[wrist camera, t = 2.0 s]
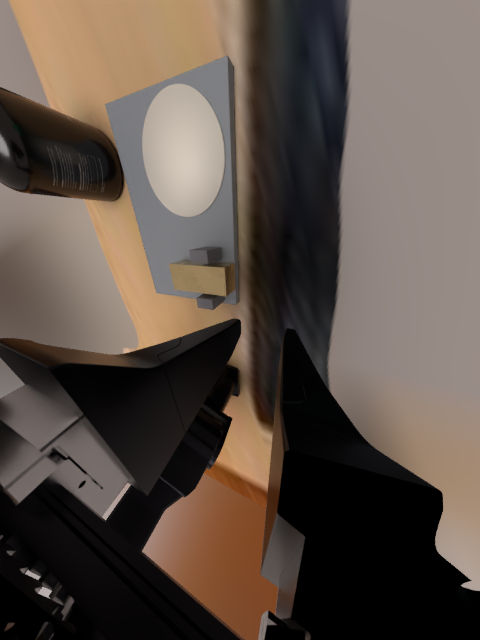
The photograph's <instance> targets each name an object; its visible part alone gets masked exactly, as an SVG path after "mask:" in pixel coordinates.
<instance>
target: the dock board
mask: <svg viewBox="0 0 480 640" xmlns="http://www.w3.org/2000/svg"><path fill="white" fill-rule="evenodd" d="M105 106H106V109H107V113H108V117H109V120H110V124H111V128H112V131H113V135H114V139H115V142H116V146H117V150H118V153H119V157H120V161H121V164H122V168H123V172H124V175H125V179H126V183H127V186H128V190H129V194H130V197H131V201H132V205H133V208H134V212H135V216H136V219H137V223H138V227H139V230H140V234H141V238H142V242H143V245H144V249H145V253H146V256H147V260H148V264H149V267H150V271H151V275H152V278H153V282H154V286H155V289H156V293H160V294H167V295H173V296H180V297H187V298H194V299H197V304H198V308H204V309H210V310H214V309H215V308H216V307H217V306H219V305H220V304H221V303H227V304H234V305H236V304H237V303H238V302H239V277H238V236H237V194H236V153H235V112H234V70H233V65H232V63H231V61H230V59H229V57H228V56H225V57H223V58H220V59H218V60H215V61H213V62H210V63H208V64H205V65H202V66H200V67H197V68H195V69H192V70H190V71H187V72H185V73H182V74H180V75H177V76H175V77H172V78H170V79H167V80H165V81H162V82H160V83H157V84H155V85H152V86H150V87H147V88H145V89H142V90H140V91H137V92H135V93H132V94H130V95H127V96H125V97H122V98H120V99H117V100H115V101H112V102H110V103H107V104H105ZM181 260H188V261H191V263H204V264H209V263H212V262H223V263H234V265H235V290H234V291H233V292H231V293H230V294H229V295H228V296H219V295H212V294H204V293H197V292H189V291H182V290H174V286H173V281H172V276H171V272H170V267H169V264H170V263H174V262H178V261H181Z"/></svg>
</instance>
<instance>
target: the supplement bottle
mask: <svg viewBox="0 0 480 640" xmlns="http://www.w3.org/2000/svg"><path fill="white" fill-rule="evenodd" d="M0 182H1V183H2V184H4V185H5V186H7V187H9V188H11V189H13V190H16V191H19V192H23V193H30V194H40V195H50V196H59V197H68V198H78V199H88V200H97V201H113V200H115V199H116V198H117V197H118V195H119V194H120V191H121V187H122V173H121V168H120V164H119V160H118V158H117V155H116V153H115V151H114V149H113V147H112V145H111V144H110V142H109V141H108V139H107V138H106V137H105V136H104V135H103V134H102V133H101V132H100V131H99V130H98V129H96V128H94V127H92V126H90V125H88V124H86V123H84V122H82V121H79V120H77V119H74V118H72V117H70V116H67V115H65V114H63V113H60V112H58V111H56V110H53V109H51V108H48V107H46V106H44V105H42V104H39V103H37V102H34V101H32V100H30V99H27V98H25V97H23V96H20V95H18V94H16V93H13V92H11V91H9V90H6V89H4V88H2V87H0Z"/></svg>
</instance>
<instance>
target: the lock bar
mask: <svg viewBox="0 0 480 640" xmlns="http://www.w3.org/2000/svg"><path fill="white" fill-rule="evenodd" d="M169 267H170V272H171V276H172V281H173V286H174V290H182V291H189V292H197V293H204V294H212V295H219V296H228V295H229V294H230V293H231V292H233V291H234V290H235V265H234V263H223V262H212V263H209V264H204V263H191V261H188V260H181V261H178V262H174V263H170V264H169Z"/></svg>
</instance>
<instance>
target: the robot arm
mask: <svg viewBox="0 0 480 640" xmlns="http://www.w3.org/2000/svg"><path fill="white" fill-rule="evenodd" d="M240 335H241V321H240V320H239V319H231V320H228V321H225V322H222V323H219V324H216V325H213V326H211V327H208V328H205V329H202V330H199V331H196V332H193V333H191V334H188V335H185V336H182V337H179V338H176V339H173V340H170V341H167V342H164V343H161V344H157V345H154V346H150V347H147V348H143V349H140V350H136V351H133V352H129V353H125V354H120V355H108V354H102V353H95V352H88V351H82V350H75V349H69V348H62V347H55V346H50V345H44V344H39V343H36V342H33V341H31V340H24V339H17V338H0V358H1V359H2V360H3V361H4V362H5V363H6V364H7V365H8V366H9V367H10V368H11V370H12V371H13V372H14V373H15V374H16V375H17V376H18V377H19V378H20V379H21V380H22V381H23V382H24V383H25V385H24V386H22V387H20V388H18V389H17V390H15V391H13V392H11V393H9V394H7V395H6V396H4V397H2V398H0V640H245V639H243V638H242V637H241V636H240V635H238V634H237V633H236V632H235V631H234V630H233V629H231V628H230V627H229V626H228V625H227V624H226V623H225V622H223V621H222V620H221V619H220V618H219V617H217V616H216V615H215V614H214V613H213V612H212V611H211V610H209V609H208V608H207V607H206V606H205V605H204V604H203V603H201V602H200V601H199V600H198V599H197V598H196V597H194V596H193V595H192V594H191V593H190V592H189V591H187V590H186V589H185V588H184V587H183V586H182V585H180V584H179V583H178V582H177V581H176V580H175V579H173V578H172V577H171V576H170V575H168V573H166V572H165V571H164V570H163V569H162V568H160V567H159V566H158V565H157V564H156V563H155V562H154V561H152V560H151V559H150V558H149V557H148V556H146V555H145V554H144V553H143V552H142V550H143V548H144V546H145V545H146V543H147V541H148V539H149V537H150V536H151V534H152V532H153V530H154V528H155V527H156V525H157V523H158V521H159V520H160V518H161V516H162V514H163V513H164V511H165V510H166V509H167V508H168V507H169V506H171V505H172V504H173V503H175V502H176V501H177V500H179V499H180V498H181V497H186V496H187V495H189V494H190V493H191V492H192V491H193V490H194V489H195V488H196V486H197V484H198V483H199V481H200V479H201V477H202V475H203V473H204V471H205V469H206V468H207V469H210V468H211V467H212V466H213V464H214V463H215V461H216V459H217V457H218V456H219V454H220V451H221V449H222V447H223V444H224V442H225V439H226V436H227V433H228V430H229V427H230V424H231V421H232V418H231V417H230V416H229V417H228V416H227V415H226V414H224V413H223V411H224V409H225V407H226V405H227V403H228V401H229V399H230V397H231V395H234V396H237V397H238V396H239V394H240V390H239V370H238V369H236V368H233V367H230V366H226V364H227V363H228V361H229V359H230V357H231V356H232V353H233V351H234V349H235V347H236V344H237V342H238V340H239V338H240ZM127 482H128V483H129V484H131V486H130V487H129V489H128V490H127V491H126V493H125V494H124V496H123V497H122V498H121V500H120V501H119V503H118V504H117V505H116V507H115V508H114V510H113V511H112V513H111V514H110V515H109V517H108V518H107V520H104V519H103V518H102V516H103V515H104V513H105V512H106V511H107V509H108V508H109V507H110V505H111V504H112V503H113V501H114V500H115V499H116V497H117V496H118V495H119V493H120V492H121V490H122V489H123V488H124V486H125V485H126V484H127ZM442 512H443V496H442V492H441V491H440V490H438V489H437V488H435V487H434V486H432V485H431V484H429V483H428V482H426V481H424V480H423V479H421V478H420V477H418V476H417V475H415V474H414V473H412V472H411V471H409V470H408V469H406V468H404V467H403V466H401V465H400V464H398V463H397V462H395V461H394V460H392V459H390V458H389V457H387V456H386V455H384V454H383V453H381V452H380V451H378V450H377V449H375V448H374V447H373V446H372V445H370V444H369V443H368V442H367V441H366V440H365V439H364V437H363V436H362V435H361V434H360V433H359V431H358V430H357V429H356V428H355V426H354V425H353V423H352V422H351V421H350V419H349V418H348V417H347V415H346V414H345V412H344V411H343V410H342V408H341V407H340V405H339V404H338V403H337V401H336V400H335V399H334V397H333V396H332V394H331V393H330V391H329V390H328V388H327V387H326V385H325V384H324V382H323V380H322V378H321V377H320V375H319V373H318V371H317V370H316V368H315V366H314V364H313V362H312V360H311V358H310V357H309V355H308V353H307V351H306V349H305V347H304V345H303V344H302V342H301V340H300V338H299V336H298V334H297V333H296V331H295V330H294V329H289V328H287V329H286V332H285V334H284V337H283V340H282V348H281V356H280V364H279V372H278V382H277V394H276V405H275V416H274V428H273V439H272V450H271V462H270V473H269V484H268V495H267V507H266V518H265V530H264V542H263V552H262V563H261V573H260V574H261V575H262V576H263V577H264V578H266V579H267V580H269V581H270V582H272V583H273V584H275V585H276V586H277V587H278V596H277V605H276V614H275V615H274V614H273V613H271V612H270V611H267V612H265V613H264V614H262V619H261V625H260V632H259V639H258V640H480V591H474V590H470V589H467V588H464V587H462V586H461V585H462V584H463V583H465V582H468V581H471V580H470V579H468V578H467V577H466V576H465V575H464V574H463V573H461V572H460V571H459V570H458V569H456V568H455V567H454V566H453V565H451V563H449V562H448V561H446V559H444V558H443V557H442V556H441V555H440V554H439V553H438V552H437V550H436V546H435V536H436V531H437V529H438V524H439V521H440V518H441V515H442ZM27 570H29V571H31V572H32V573H35V574H36V575H38V576H41V578H40V579H39V580H36V579H34V578H32V577H30V576H28V575H26V574H25V573H26V571H27ZM42 587H45V588H48V589H50V590H52V592H51V594H50V595H49V597H50V598H51V599H49V598H47V597H44V596H42V595H40V594H38V592H39V591H40V589H41V588H42Z"/></svg>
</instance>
